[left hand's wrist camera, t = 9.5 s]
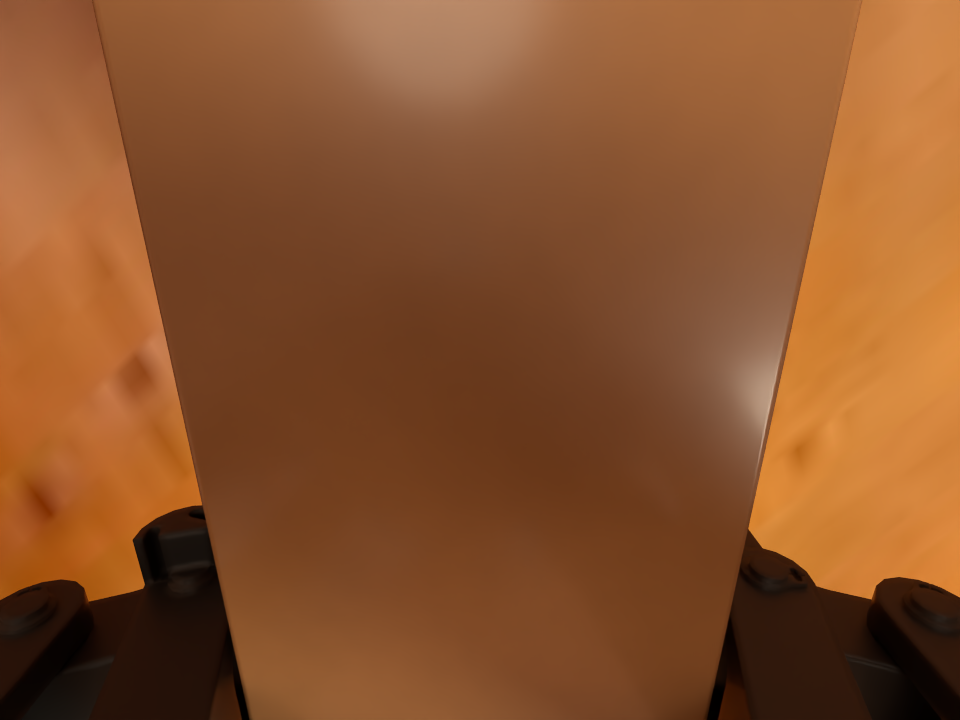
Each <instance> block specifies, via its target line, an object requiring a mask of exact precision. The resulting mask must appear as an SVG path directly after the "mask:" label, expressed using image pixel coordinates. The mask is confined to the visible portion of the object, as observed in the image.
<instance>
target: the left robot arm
mask: <svg viewBox="0 0 960 720" xmlns="http://www.w3.org/2000/svg"><path fill="white" fill-rule="evenodd" d="M133 543H134V547H135V550H136V554H137V558H138V561H139V565H140V568H141V572H142V575H143V579H144V583H145V586H144V588H143V589H141V590H137V591H134V592H130V593H126V594H121V595H117V596H112V597H108V598H104V599H99V600H95V601H90V602H88V599H87V596H86V593H85V590H84V588H83V587H82V586H81V585H80V584H78V583H77V582H76V581H69V580H54V581H48V582H42V583H39V584H36V585H32V586H30V587H26V588H24V589H21V590H19V591H17V592H15V593H13V594H11V595H9V596H7V597H6V598H4V599H2V600H0V720H249V715H248V710H247V706H246V701H245V697H244V692H243V688H242V683H241V678H240V674H239V669H238V665H237V660H236V656H235V651H234V647H233V642H232V637H231V633H230V628H229V624H228V619H227V615H226V610H225V605H224V601H223V596H222V592H221V587H220V583H219V578H218V573H217V569H216V564H215V560H214V555H213V551H212V546H211V542H210V537H209V532H208V528H207V523H206V519H205V514H204V510H203V505H202V506H190V507H186V508H182V509H178V510H174V511H172V512H170V513H167V514H165V515H163V516H161V517H158V518H156V519H155V520H153V521H152V522H150V523H149V524H148V525H146V526H145V527H143V528H142V529H141V530H140V531H139V533H138V534H137V535H136V536H135V538H134V539H133ZM707 720H960V598H959V597H958V596H956V595H954V594H952V593H950V592H948V591H946V590H944V589H942V588H940V587H938V586H935V585H933V584H929V583H926V582H923V581H920V580H915V579H908V578H902V577H896V578H889V579H884V580H883V581H881V582H880V583H879V584H878V585H877V586H876V588H875V591H874V594H873V597H872V600H871V599H866V598H862V597H858V596H853V595H849V594H844V593H840V592H835V591H831V590H827V589H824V588H820V587H817V586H816V585H815V583H814V582H813V580H812V579H811V577H810V576H809V575H808V573H807V572H806V571H805V570H804V569H802V568H801V567H800V566H799V565H797V564H796V563H795V562H794V561H792V560H790V559H788V558H786V557H784V556H782V555H780V554H778V553H776V552H773V551H770V550H766V549H763V548H762V547H761V546H760V544H759V543H758V542H757V540H756V539H755V538H754V536H753V535H752V534H751V532H750V531H749V530H748V531H747V536H746V541H745V545H744V550H743V554H742V559H741V564H740V568H739V573H738V578H737V582H736V587H735V592H734V596H733V601H732V605H731V610H730V615H729V619H728V624H727V629H726V633H725V638H724V642H723V647H722V652H721V656H720V661H719V666H718V670H717V675H716V679H715V684H714V689H713V693H712V698H711V703H710V707H709V712H708V717H707Z"/></svg>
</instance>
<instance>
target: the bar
mask: <svg viewBox="0 0 960 720" xmlns="http://www.w3.org/2000/svg"><path fill="white" fill-rule="evenodd" d="M92 3H93V7H94V12H95V17H96V21H97V26H98V30H99V35H100V39H101V44H102V48H103V53H104V58H105V62H106V67H107V71H108V76H109V80H110V85H111V90H112V94H113V99H114V103H115V108H116V112H117V117H118V122H119V126H120V131H121V135H122V140H123V144H124V149H125V153H126V158H127V163H128V167H129V172H130V176H131V181H132V185H133V190H134V195H135V199H136V204H137V208H138V213H139V217H140V222H141V227H142V231H143V236H144V240H145V245H146V249H147V254H148V258H149V263H150V268H151V272H152V277H153V281H154V286H155V290H156V295H157V300H158V304H159V309H160V313H161V318H162V322H163V327H164V332H165V336H166V341H167V345H168V350H169V354H170V359H171V363H172V368H173V373H174V377H175V382H176V386H177V391H178V395H179V400H180V405H181V409H182V414H183V418H184V423H185V427H186V432H187V437H188V441H189V446H190V450H191V455H192V459H193V464H194V468H195V473H196V478H197V482H198V487H199V491H200V496H201V500H202V505H203V510H204V514H205V519H206V523H207V528H208V532H209V537H210V542H211V546H212V551H213V555H214V560H215V564H216V569H217V573H218V578H219V583H220V587H221V592H222V596H223V601H224V605H225V610H226V615H227V619H228V624H229V628H230V633H231V637H232V642H233V647H234V651H235V656H236V660H237V665H238V669H239V674H240V678H241V683H242V688H243V692H244V697H245V701H246V706H247V710H248V715H249V720H707V717H708V712H709V707H710V703H711V698H712V693H713V689H714V684H715V679H716V675H717V670H718V666H719V661H720V656H721V652H722V647H723V642H724V638H725V633H726V629H727V624H728V619H729V615H730V610H731V605H732V601H733V596H734V592H735V587H736V582H737V578H738V573H739V568H740V564H741V559H742V554H743V550H744V545H745V541H746V536H747V531H748V527H749V522H750V517H751V513H752V508H753V504H754V499H755V494H756V490H757V485H758V480H759V476H760V471H761V467H762V462H763V457H764V453H765V448H766V443H767V439H768V434H769V429H770V425H771V420H772V416H773V411H774V406H775V402H776V397H777V392H778V388H779V383H780V379H781V374H782V369H783V365H784V360H785V355H786V351H787V346H788V341H789V337H790V332H791V328H792V323H793V318H794V314H795V309H796V304H797V300H798V295H799V291H800V286H801V281H802V277H803V272H804V267H805V263H806V258H807V254H808V249H809V244H810V240H811V235H812V230H813V226H814V221H815V216H816V212H817V207H818V203H819V198H820V193H821V189H822V184H823V179H824V175H825V170H826V166H827V161H828V156H829V152H830V147H831V142H832V138H833V133H834V129H835V124H836V119H837V115H838V110H839V105H840V101H841V96H842V91H843V87H844V82H845V78H846V73H847V68H848V64H849V59H850V54H851V50H852V45H853V41H854V36H855V31H856V27H857V22H858V17H859V13H860V8H861V4H862V0H92Z"/></svg>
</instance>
